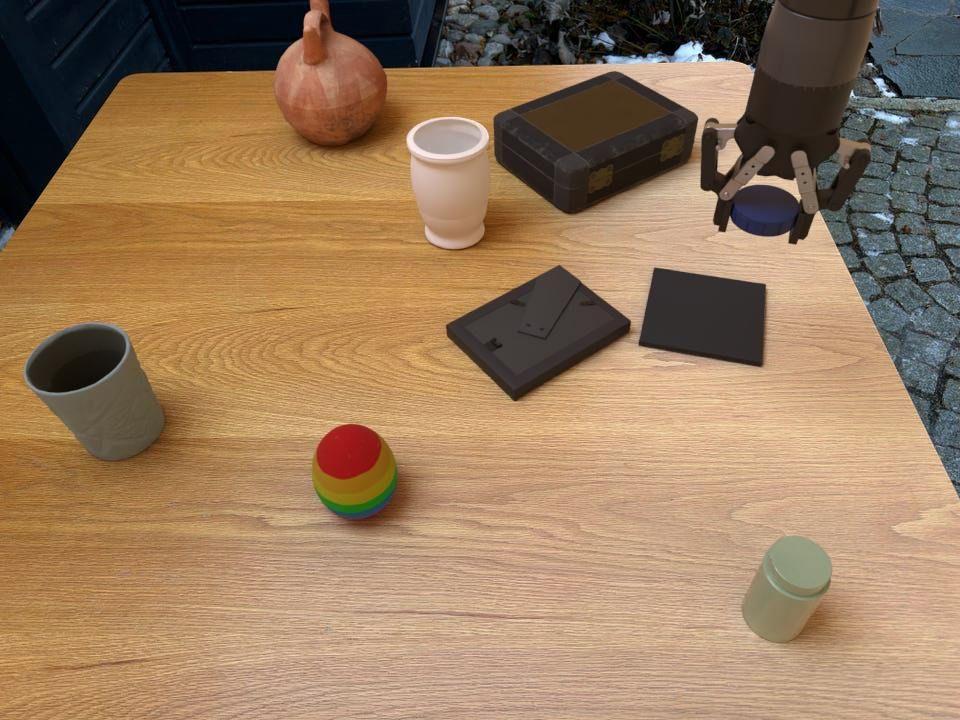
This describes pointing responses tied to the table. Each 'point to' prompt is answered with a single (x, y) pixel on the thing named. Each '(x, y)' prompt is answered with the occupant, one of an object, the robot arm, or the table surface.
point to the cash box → (593, 139)
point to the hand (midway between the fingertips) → (757, 232)
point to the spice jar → (787, 588)
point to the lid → (764, 210)
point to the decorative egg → (354, 471)
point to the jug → (329, 83)
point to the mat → (705, 316)
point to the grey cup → (97, 389)
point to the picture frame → (537, 331)
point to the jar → (450, 179)
